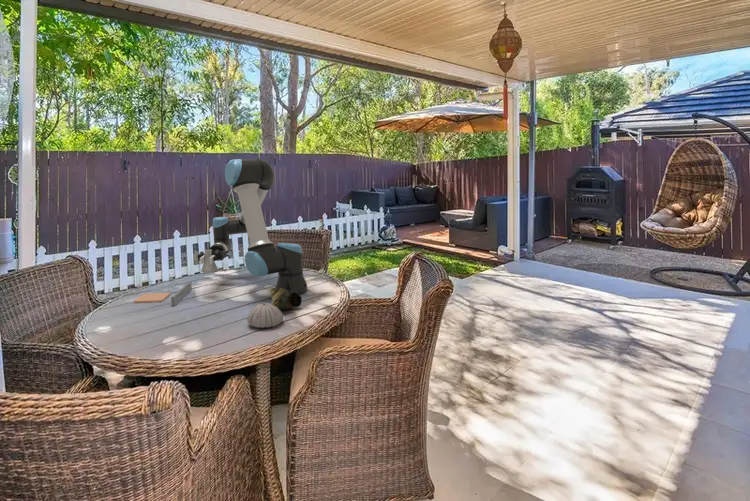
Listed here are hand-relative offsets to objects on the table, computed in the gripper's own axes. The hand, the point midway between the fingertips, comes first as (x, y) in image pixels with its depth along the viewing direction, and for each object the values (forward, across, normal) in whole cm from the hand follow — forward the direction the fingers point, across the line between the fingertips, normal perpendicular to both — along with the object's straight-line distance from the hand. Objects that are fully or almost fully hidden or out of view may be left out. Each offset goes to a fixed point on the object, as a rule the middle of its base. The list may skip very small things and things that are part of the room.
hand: (205, 261), depth 197 cm
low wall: (-5, +13, -18) cm, 23 cm away
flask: (-5, 0, -6) cm, 8 cm away
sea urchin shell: (+35, -29, -18) cm, 49 cm away
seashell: (+20, -36, -18) cm, 45 cm away
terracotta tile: (-5, +26, -18) cm, 32 cm away
